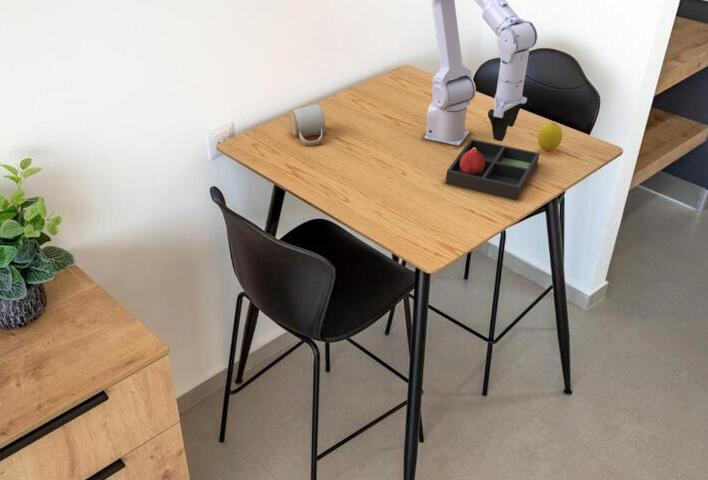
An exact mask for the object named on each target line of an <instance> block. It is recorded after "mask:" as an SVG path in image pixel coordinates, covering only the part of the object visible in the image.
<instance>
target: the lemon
mask: <svg viewBox="0 0 708 480" xmlns="http://www.w3.org/2000/svg"><path fill="white" fill-rule="evenodd" d="M562 139H563V129H562V128H561V126H560V125H559V124H557V123H556V122H554V121H551V122H547V123H545V124H544V125H542V126H541V128H540V130H539V132H538V137H537V142H538V145H539V147H540V148H541V149H542V150H543V151H545V152H547V153H548V152H551V151H554V150H556V149H558V147H559V146H560V145H561V142H562Z"/></svg>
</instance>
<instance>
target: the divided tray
mask: <svg viewBox="0 0 708 480" xmlns="http://www.w3.org/2000/svg"><path fill="white" fill-rule="evenodd" d="M473 148H476V149H477V150H478V151H479V152H480V153H481V154H482V155H483V157H484V159H485V167H484V170H483V171H482V172H481V173H480V174H478V175H476V176H474V175H470V174H466V173H463V172H462V170H461V168H460V160H461V157H462V156H463V155H464V154H465V153H466V152H467V151H469V150H471V149H473ZM540 154H541V153H540V152H537V151H531V150H527V149H522V148H518V147H513V146H507V145H503V144H498V143H494V142H489V141H485V140H480V139H474V138H470V139H469V140H468V141H467V143H466V145H465V146H464V147H463V148H462V150H461V151H460V153H459V154H458V155H457V157H456V158H455V159H454V161H453V162H452V164H450V166H449V168H448V169H447V170H446V177H445V184H446V185H450V186H454V187H459V188H463V189H467V190H471V191H476V192H479V193H485V194H488V195H493V196H497V197H501V198H504V199H509V200H513V201H518V200H519V198H520V196H521V195H522V194H523V191H524V190H525V188H526V186H527V185H528V183H529V181H530V179H531V177H532V176H533V174H534V172H535V171H536V169H537V167H538V165H539V159H540Z"/></svg>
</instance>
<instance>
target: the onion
mask: <svg viewBox="0 0 708 480" xmlns="http://www.w3.org/2000/svg"><path fill="white" fill-rule="evenodd" d="M484 167H485V159H484V157H483V155H482V154H481V153H480V152H479V151H478V150H477V149H476V148H473V149H471V150H469V151H467V152H466V153H465V154H464V155H463V156H462V157H461V160H460V168H461V170H462V172H463V173H466V174H470V175H474V176H476V175H478V174H480V173H481V172H482V171H483V170H484Z"/></svg>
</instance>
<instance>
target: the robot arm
mask: <svg viewBox="0 0 708 480" xmlns="http://www.w3.org/2000/svg"><path fill="white" fill-rule="evenodd" d="M430 1H431V8H432V17H433V22H434V31H435V37H436V44H437V45H436V46H437V52H438V59H439V67H440V68H439V70H438V71H437V72H436V74H434V76H433V77H432V79H431V81H432V90H431V97H432V101H431V102H430V104H429V107H428V109H427V114H426V123H425V124H426V125H425V136H424V139H425V140H428V141H429V140H430V141H434V142H439V143H444V144H447V145H452V146H457V147H458V146H460V145H461V144H462V143H463V141H465V139H466V138H467V136H469V134H470V131H469V130H465V127H466V119H467V112H468V111H467V110H468V106H469V105H470V103H471V101H472V100H473V99H474V98H475V97H476V94H477V87H476V83H475V81H474V78H473V73H472V70H471V69H470V68H468V67H466V66H465V65H464V64H463V58H462V49H461V42H460V35H459V34H460V33H459V26H458V18H457V11H456V2H455V0H430ZM473 1H474V2H475V3H476V4H477V5H478V6H479V7H480V8H481V9H482V13H481V14H482V15H481V16H482V19H483V20H484V22H485V23H486V24H487V25H488V26H489V28H490V29H491V30H492V31H493V33H494V34H495V35H496V37H497V38H496V39H497V40H496V41H497V44H498V45H497V46H498V49H499V55H498V56H499V59H500V63H499V64H500V65H499V70H498V78H497V86H496V91H495V94H494V108H490V109H489V110H488V111H487V118H488V120H489V122H490V125H491V128H492V138H493V141H499V142H503V141H504V139H505V137H506V135H507V130H508V127H510V128H513V127H514V125H515V123H516V121H517V118H518V115H519V113H520V111H521V108H522V107H523V105H524V104H526V103H527V101H528V97H527V96H526V95H524V94H523V92H524V85H525V81H526V74H527V68H528V60H529V55H530V49H532V48H534V47H535V45H536V44H537V42H538V31H537V28H536V26H535V25H534V23H533V22H532V21H530V20H525V19H524V18H520V17H519V16H518V14H517V13H516V12H515V10H513V8H512V7H511V6H510V5H509V2H508V1H507V0H473Z"/></svg>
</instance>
